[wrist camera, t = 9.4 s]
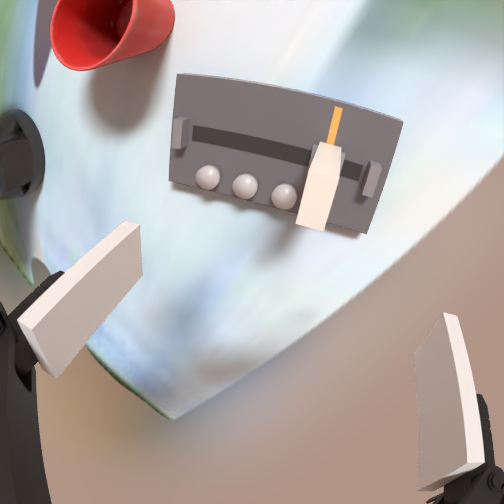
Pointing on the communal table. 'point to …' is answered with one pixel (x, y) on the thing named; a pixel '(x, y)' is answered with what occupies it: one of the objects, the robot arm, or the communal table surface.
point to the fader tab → (320, 185)
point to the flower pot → (107, 30)
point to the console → (277, 144)
